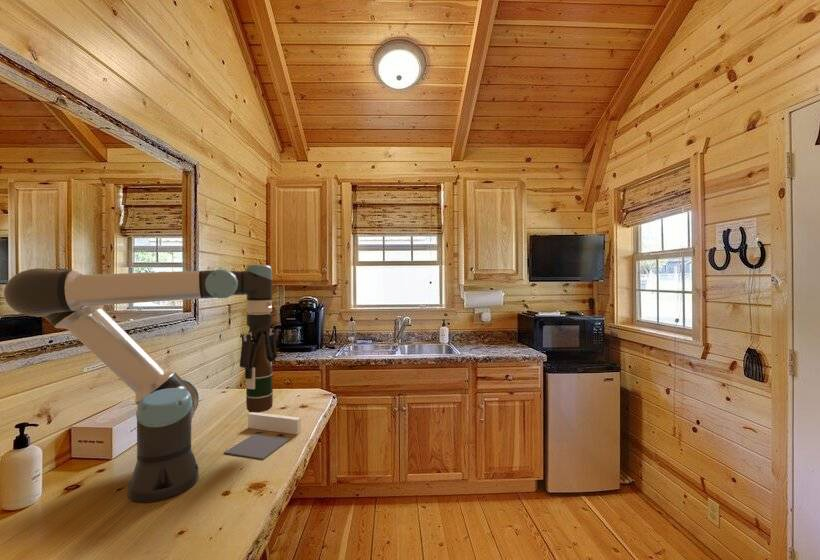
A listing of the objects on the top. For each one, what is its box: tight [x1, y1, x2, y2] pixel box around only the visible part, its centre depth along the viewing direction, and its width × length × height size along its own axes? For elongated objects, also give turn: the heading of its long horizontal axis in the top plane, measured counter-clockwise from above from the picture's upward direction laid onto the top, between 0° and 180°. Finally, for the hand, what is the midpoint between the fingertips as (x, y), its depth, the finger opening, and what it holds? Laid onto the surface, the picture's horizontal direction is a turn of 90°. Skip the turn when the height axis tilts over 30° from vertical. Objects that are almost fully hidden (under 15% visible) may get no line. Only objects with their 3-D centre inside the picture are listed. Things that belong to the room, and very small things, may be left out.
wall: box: [247, 412, 302, 435], centre depth 127 cm, size 2×20×5 cm, turn 75°
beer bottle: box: [245, 334, 274, 413], centre depth 115 cm, size 8×8×24 cm
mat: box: [223, 432, 292, 461], centre depth 115 cm, size 14×14×1 cm
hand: (259, 384), depth 115 cm, fingers closed on beer bottle, 8 cm apart
